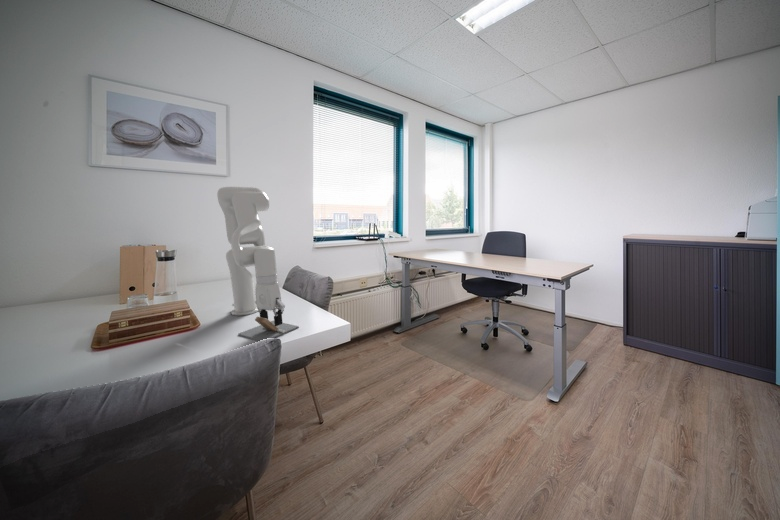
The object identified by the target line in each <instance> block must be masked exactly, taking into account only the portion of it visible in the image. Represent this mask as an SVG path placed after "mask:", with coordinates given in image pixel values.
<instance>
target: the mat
mask: <svg viewBox="0 0 780 520" xmlns="http://www.w3.org/2000/svg"><path fill="white" fill-rule="evenodd" d="M270 321H271V320H270ZM271 322H272V323H273V324H274V320H272V321H271ZM274 325H275V324H274ZM277 327H278V330H277V331H276V332H275V331H271V330H267V329H265V328H264V327H263V326H262V325H260V324H259V325H258V326H255V327H252V328H249V329H247V330H244V331H243V332H239V333H238V334H237V335H238V336H241V337H243V338H247V339H250V340H252V341H253V340H254V341H256V342H260V340H263V339H267V338H274V337H276V338H279V337H280V336H283V335H286V334H287V333H288V334H289V333H290V332H292V331H294V330H296V329H299V328H300V327H299V325H294V324H290V323H285V322H283V323H282V324H281V325H278V326H277ZM274 339H275V338H274Z"/></svg>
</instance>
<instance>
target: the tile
mask: <svg viewBox="0 0 780 520" xmlns="http://www.w3.org/2000/svg"><path fill="white" fill-rule="evenodd" d="M254 321H255V322H257V323H258V324H259V326H260V325H262V326H263V327H264V328H265V329H267V330H271V331H275V332H276V331H277V330H278V327H277V326H275V325H274V324H273V323H272V322H271V320H269V318H268V319H266V318H262V317H260V316H256V317H255V318H254Z"/></svg>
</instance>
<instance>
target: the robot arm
mask: <svg viewBox="0 0 780 520" xmlns="http://www.w3.org/2000/svg"><path fill="white" fill-rule="evenodd" d="M216 195H217V202H218V204H219V207H220V209H221V211H222V212H223V215H224V218H225V219H224V220H225V229H226V237H227V241H228V243H229V244H230V245H231V249H229V250H228V251H227V252H226V253H225V258H226V263H227V266H228V270H229V274H230V283H231V288H232V298H233V303H232V305H231V306H232V307H233V308H234V309H233V310H231V312H230V313H231V315H232V316H236V317H237V316H248V315H252V314H255V313H257V312H258V313H259V317H262V318H266V319H268V320H269V311H270V312H271V311H272V312H273V314H274V315H273V321H274V324H275V326H278V325H281V324H282V323H284V322H283V313H284V312H285V307H286V305H285V303H283V302H282V296H281V290H280V285H279V281H278V280H279V279H278V271H277V263H276V262H277V261H276V253H275V252H276V250H275V249H274V248H273V247H270V246H269V245H266V242H265V241H266V240H265V233H264V232H265V231H264V229H263V228H262V226H261V224H262V223H261V219H260V216H259V212H266V211H268V210H269V209H270V200H269V197H268V195H267V193H266V192H264V191H263V190H261V189H260V188H257V187H253V186H251V187H248V186H223V187H220V188H218V190H217V194H216ZM243 245H244V246H245V245H253V246H245V247H242V246H243ZM248 267H249V268H250V267H254V270H255V271H254V272H255V281H256V283H254V276H253V274H252V272H251V271H250V270H248V269H247V268H248Z"/></svg>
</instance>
